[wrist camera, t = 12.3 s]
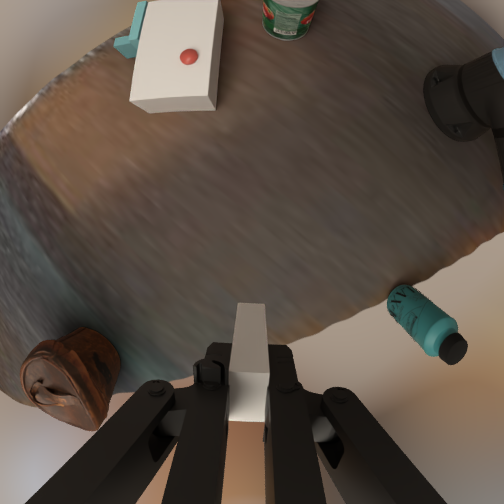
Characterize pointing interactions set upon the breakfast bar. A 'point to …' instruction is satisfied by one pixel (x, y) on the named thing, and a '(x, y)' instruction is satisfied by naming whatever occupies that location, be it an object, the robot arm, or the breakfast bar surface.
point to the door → (132, 33)
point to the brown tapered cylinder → (72, 377)
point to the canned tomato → (288, 18)
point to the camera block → (178, 56)
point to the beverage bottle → (427, 324)
